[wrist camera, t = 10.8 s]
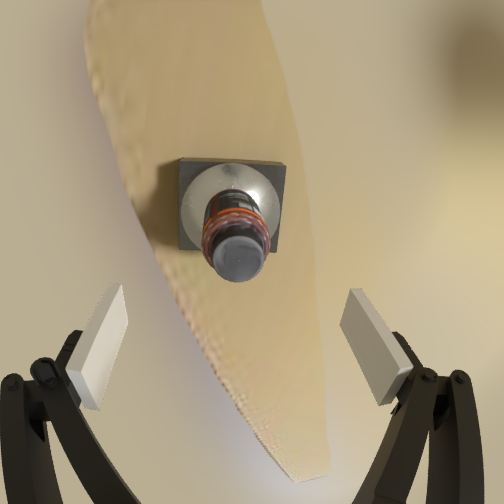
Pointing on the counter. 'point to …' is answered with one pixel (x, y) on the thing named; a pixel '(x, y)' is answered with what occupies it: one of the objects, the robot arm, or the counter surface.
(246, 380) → the counter surface
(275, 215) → the kitchen scale
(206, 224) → the supplement bottle
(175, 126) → the counter surface
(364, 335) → the robot arm
